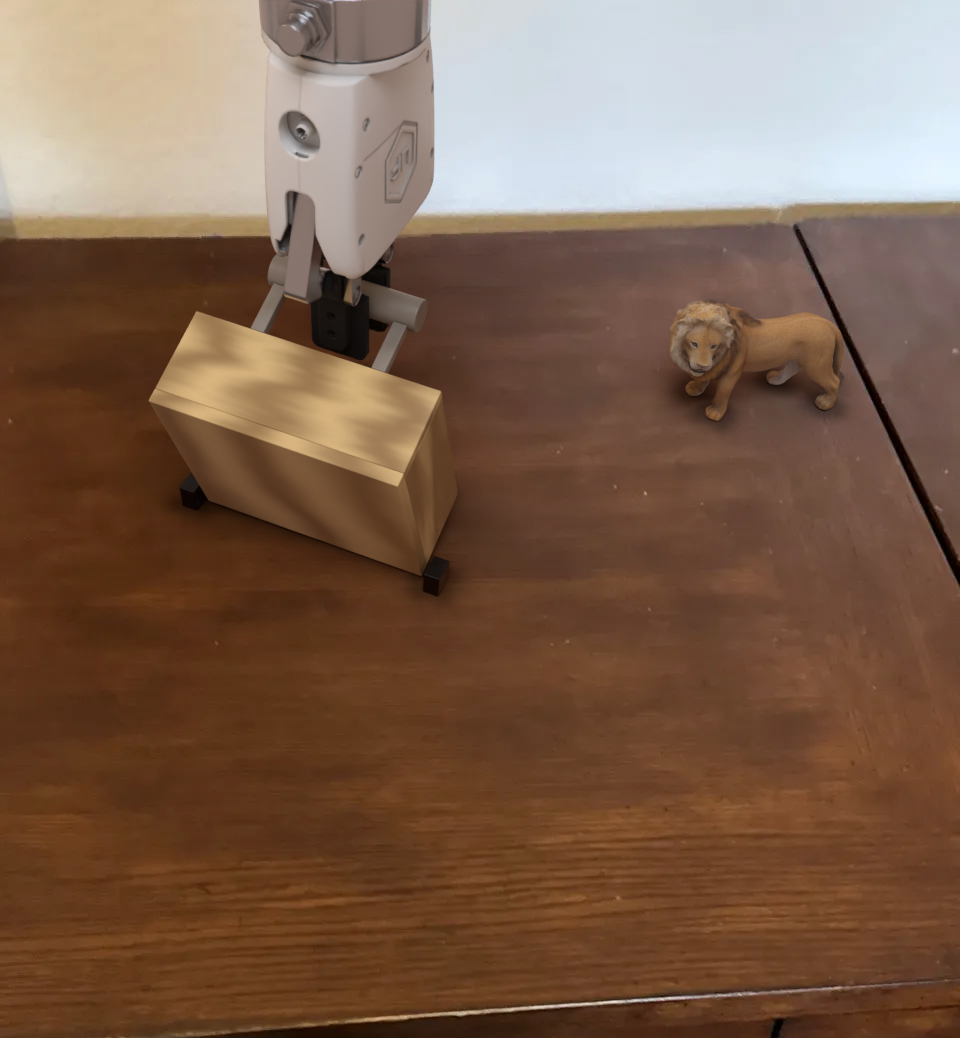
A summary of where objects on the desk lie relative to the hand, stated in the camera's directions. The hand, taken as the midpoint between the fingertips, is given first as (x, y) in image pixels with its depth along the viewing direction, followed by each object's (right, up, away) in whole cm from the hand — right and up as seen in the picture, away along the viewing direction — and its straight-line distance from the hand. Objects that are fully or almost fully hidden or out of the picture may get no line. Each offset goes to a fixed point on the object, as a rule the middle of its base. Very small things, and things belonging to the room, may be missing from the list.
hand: (351, 334), depth 69 cm
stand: (-3, -11, +7) cm, 13 cm away
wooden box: (-3, -9, +1) cm, 10 cm away
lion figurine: (+25, -1, +17) cm, 31 cm away
